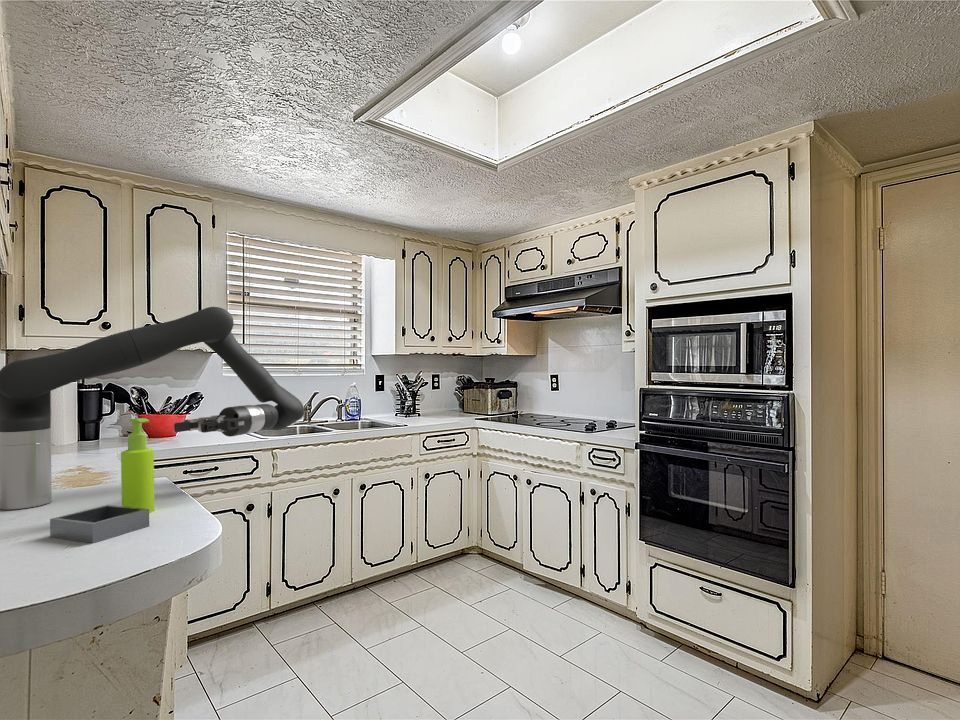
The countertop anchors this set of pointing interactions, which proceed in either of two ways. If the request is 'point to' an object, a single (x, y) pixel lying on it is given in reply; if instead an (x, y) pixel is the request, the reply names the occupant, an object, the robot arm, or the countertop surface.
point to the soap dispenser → (137, 469)
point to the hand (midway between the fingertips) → (188, 427)
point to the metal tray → (99, 523)
